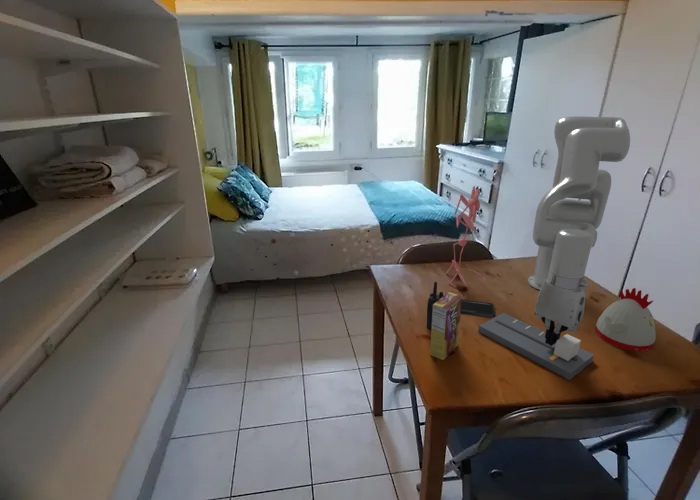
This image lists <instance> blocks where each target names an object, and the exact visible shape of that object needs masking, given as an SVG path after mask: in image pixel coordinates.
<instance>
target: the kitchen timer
mask: <svg viewBox="0 0 700 500" xmlns="http://www.w3.org/2000/svg"><path fill="white" fill-rule="evenodd" d="M649 294H650V293H646V294H644V296H643V297H642V289H640V290H638V291H637V289H636V287H634V288H632V289H631V291H630V289H629V288H627V289H625V294H624V291H623V290H619V297H620V299H618V300H616V301H614V302H613V303H611V304H610V305H608V307H606V308H605V310H603V312H602V313H601V315H599V317H598V318H597V321H596V324H595V328H594V331H595V333H596V335H597V337H599V338H600V339H601V340H603V341H604V342H606V343H608V344H610V345H613V346H615V347H617V348H621V349H623V350H627V349H628V351H632V350H639V351H638V352H642V351H641V350H647V349H649V350H651V349H652V348H653V347H654V346H655V342H656V338H657V337H656V336H657V335H656V325H655V324H656V323H655V319H654V316H653V313H652V311H651V310H650V309H649V305H651V304H652V303H653V302H654V300H650V301H648V298H649ZM653 345H654V346H653ZM652 346H653V347H652ZM651 347H652V348H651ZM650 348H651V349H650ZM647 351H648V350H647Z"/></svg>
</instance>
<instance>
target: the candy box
mask: <svg viewBox="0 0 700 500" xmlns="http://www.w3.org/2000/svg"><path fill="white" fill-rule="evenodd" d="M462 300H463V296H462V295H460V294H457V293H453V292H451V291H449V292H447V293H446V294H444V295H443V297H442V298H441V299H440V300H438V301H437V302H436V303H435V304H433V311H432V328H431V329H430V330H431V331H430V347H429V348H430V349H429V355H430V356H432V357H435V358H437V359H439V360H441V361H444V360H445V359H446V358H447V357H448V356H449V355H450V354H451V353H452V352H453V351H454V350H455V349H456V347H458V346H459V341H460V340H459V338H460V337H459V335H460V328H461V327H460V325H461V314H462V313H461V303H462Z"/></svg>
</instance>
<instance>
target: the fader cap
mask: <svg viewBox="0 0 700 500" xmlns="http://www.w3.org/2000/svg"><path fill="white" fill-rule="evenodd" d="M581 342H582V340H581V339H579V338H577V337H574V336H572V335H570V334H568V333H566V334H564V335H563V336H560V339H558V340H557V341H556V346H555V350H554V354H555V355H557V356H559V357H561V358H563V359H565V360H567V361H569V360H570V359H571V358H573V357H574V356H575V355H577V354H578V351H579V348H581Z"/></svg>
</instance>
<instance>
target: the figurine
mask: <svg viewBox="0 0 700 500" xmlns="http://www.w3.org/2000/svg"><path fill="white" fill-rule="evenodd" d="M471 189H472V190H471V193H470V198H469V199H467V198H466V197H465V196H464V195H463V194H460V196H459V199H458V202H457V205H456V208H455V211H454V217H455V220H456V228H457V229H458V228H459V225H460V223H461V224H462V225H464V226H465V227H466V228H465V229H466V230H465V234H464V237H463V238H461V239H459V241H458V242H455V243H453V256H454V257H453V258H454V259H452V260H451V265H450V266H449V268H448V270H447V271H446V272H445V275H448V273H449V272H450V270H451V269H452V268H453V267H454V268H455V270H456V273H455V274H454V276H453V277H452V279H451V280H450V281H449V282H448V285H451V284H452V283H453V281H454V280H455V278H456V277H457V276H458V277H459V278H460V281H461V282H462V284H463V285H464V286H465V287H466V288H467V287H468V285H467V283H466V280H465V279H464V276H463V275H462V274H461V259H462V253H463V251H464V247H465V246H466V245H467V239H466V237H467V233H468V230H469V229H470V230H471V231H473V232H474V233H477V232H476V231H477V230H476V228H475V222H476V220H477V211H479V210H480V208H481V204H480V201H479V196H480V195H479V194H480V188H479V187H478V188H477V189H476V186H475V185H473V187H472V188H471ZM461 202H462V203H463V204H464V206H465V208H464V209H463V211H461V212H460V214H459V216H457V212H458V209H459V206H460V204H461ZM467 209H469V211H468V215H467V214H466V213H465V212H466V211H467ZM462 218H463V219H462ZM462 220H463V221H462ZM456 245H459V246H461V247H462V248H461V251H460V253H459V263H457V261H456V249H455V248H456ZM468 270H469V271H473V272H474V273H476V274H478V275H480V276H481V277H482V278H483V280H485V281H488V279H487V278H485V277H484V276H482V275H481V273H480V272H477V271H474V270H472V269H469V268H468ZM485 286H487V284H486V285H485ZM453 292H455V291H453V290H451V293H453Z"/></svg>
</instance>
